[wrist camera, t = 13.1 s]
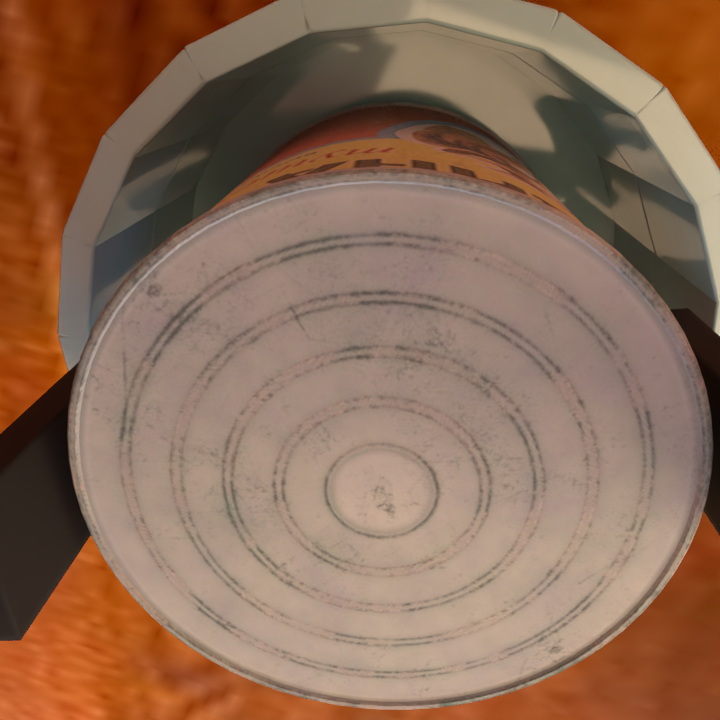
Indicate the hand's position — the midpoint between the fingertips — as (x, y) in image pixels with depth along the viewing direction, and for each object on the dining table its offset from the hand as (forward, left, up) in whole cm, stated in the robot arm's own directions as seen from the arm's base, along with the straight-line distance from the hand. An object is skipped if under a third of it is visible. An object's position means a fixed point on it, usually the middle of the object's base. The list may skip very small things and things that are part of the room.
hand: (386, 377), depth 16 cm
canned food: (0, 0, -8) cm, 8 cm away
